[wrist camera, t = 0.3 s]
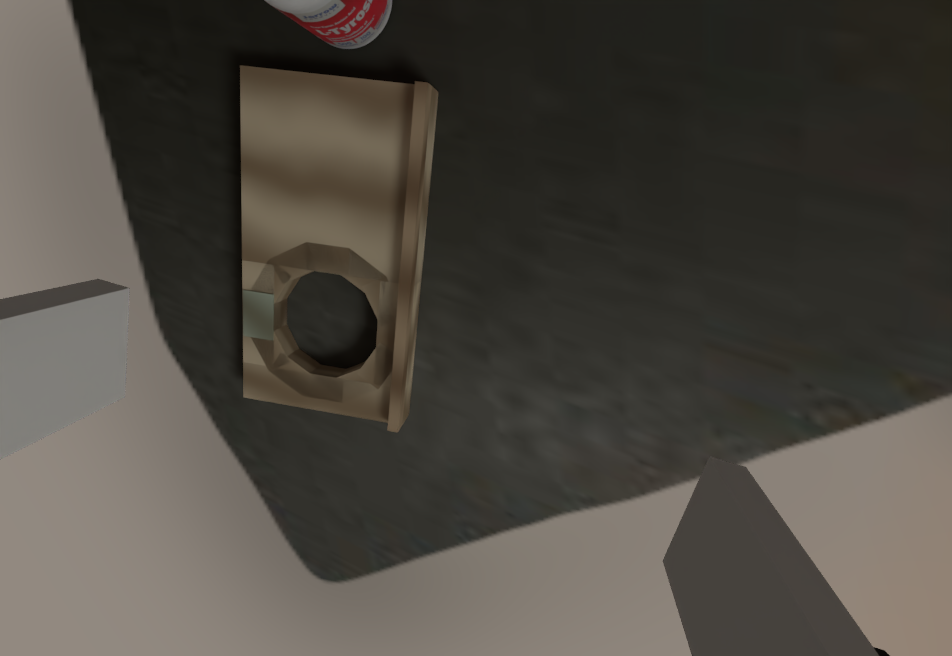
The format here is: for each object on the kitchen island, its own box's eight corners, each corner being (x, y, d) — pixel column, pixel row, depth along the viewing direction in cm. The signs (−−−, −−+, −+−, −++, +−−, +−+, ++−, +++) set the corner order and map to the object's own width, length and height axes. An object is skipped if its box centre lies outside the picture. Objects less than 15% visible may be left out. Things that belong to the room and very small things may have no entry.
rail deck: (256, 71, 35) (229, 60, 32) (438, 92, 34) (427, 82, 31) (257, 387, 42) (234, 403, 39) (409, 414, 41) (397, 432, 38)
